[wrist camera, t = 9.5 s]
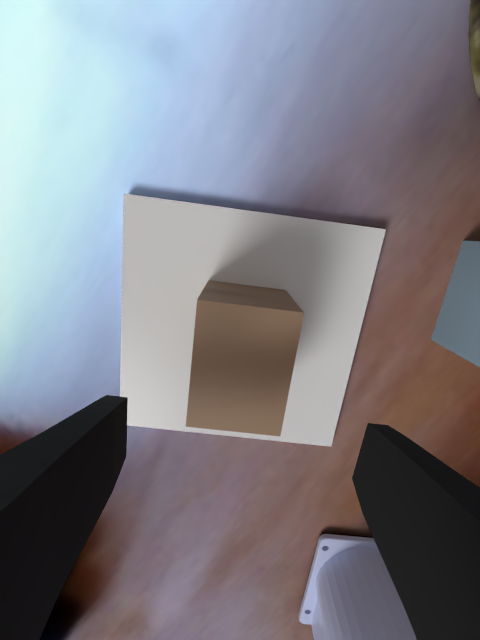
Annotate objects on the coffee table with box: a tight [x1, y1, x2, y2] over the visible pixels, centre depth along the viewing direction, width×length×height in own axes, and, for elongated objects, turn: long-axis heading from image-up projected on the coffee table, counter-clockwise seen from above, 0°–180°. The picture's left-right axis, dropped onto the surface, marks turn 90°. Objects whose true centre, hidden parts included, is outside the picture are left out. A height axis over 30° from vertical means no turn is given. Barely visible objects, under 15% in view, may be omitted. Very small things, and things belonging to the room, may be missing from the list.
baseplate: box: [120, 194, 386, 446], centre depth 18 cm, size 14×14×1 cm
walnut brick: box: [186, 280, 304, 436], centre depth 16 cm, size 6×4×5 cm
